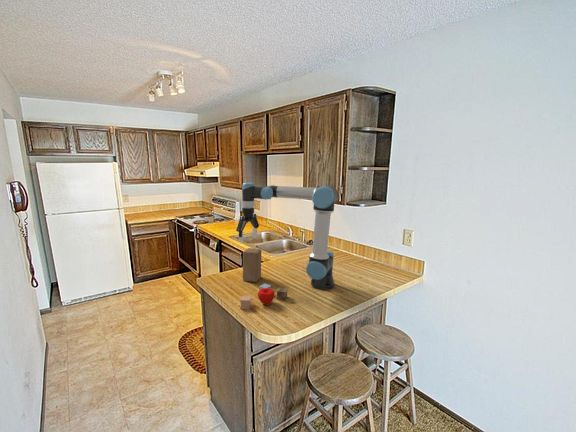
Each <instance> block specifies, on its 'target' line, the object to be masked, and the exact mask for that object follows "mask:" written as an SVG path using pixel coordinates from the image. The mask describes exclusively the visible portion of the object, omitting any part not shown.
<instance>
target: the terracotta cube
mask: <svg viewBox="0 0 576 432" xmlns="http://www.w3.org/2000/svg"><path fill="white" fill-rule="evenodd" d="M251 306H252V295H241V297H240V309H241V308H244V309H243V310H251Z"/></svg>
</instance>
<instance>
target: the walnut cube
mask: <svg viewBox="0 0 576 432" xmlns="http://www.w3.org/2000/svg"><path fill="white" fill-rule="evenodd" d="M287 298H288V288H287V287H278V289H277V290H276V300H280V301H286V299H287Z"/></svg>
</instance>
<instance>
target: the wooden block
mask: <svg viewBox="0 0 576 432" xmlns="http://www.w3.org/2000/svg"><path fill="white" fill-rule="evenodd" d="M261 277H262V249H261V248H253V247H252V248H251V247H248V248H246V249H245V250H244V251H243V252H242V281H243V282H253V283H257V282H258V281H259V280H260V279H261Z"/></svg>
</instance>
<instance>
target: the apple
mask: <svg viewBox="0 0 576 432" xmlns="http://www.w3.org/2000/svg"><path fill="white" fill-rule="evenodd" d="M274 297H275V291H274V290H273V289H272V288H271V289H270V288H262V289H260V290H259V289H258V292H257V298H258V300H259V301H260V302H261V303H262V304H263V305H266V306H267V305H271V303H273V301H274Z"/></svg>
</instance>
